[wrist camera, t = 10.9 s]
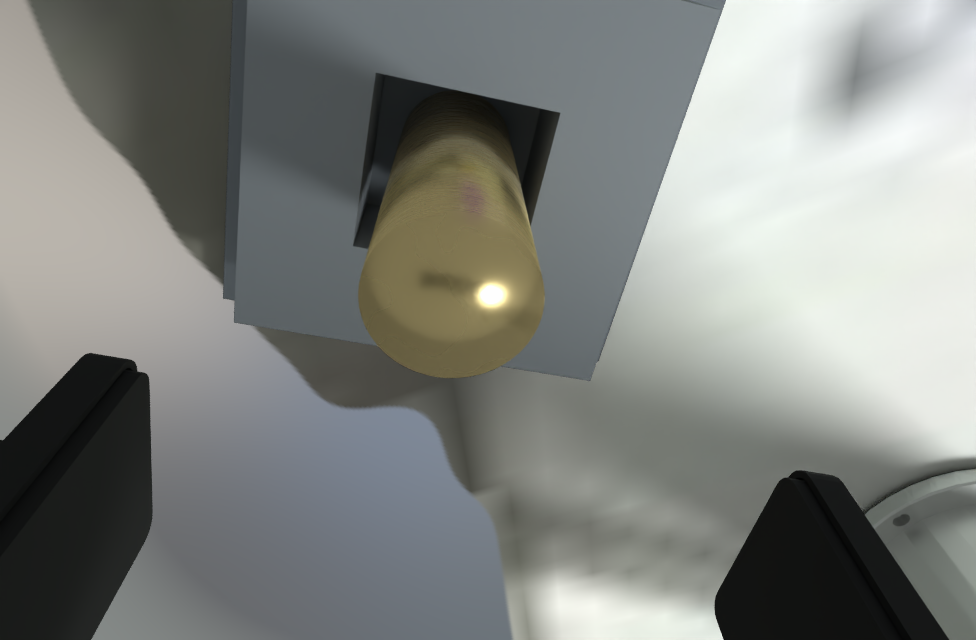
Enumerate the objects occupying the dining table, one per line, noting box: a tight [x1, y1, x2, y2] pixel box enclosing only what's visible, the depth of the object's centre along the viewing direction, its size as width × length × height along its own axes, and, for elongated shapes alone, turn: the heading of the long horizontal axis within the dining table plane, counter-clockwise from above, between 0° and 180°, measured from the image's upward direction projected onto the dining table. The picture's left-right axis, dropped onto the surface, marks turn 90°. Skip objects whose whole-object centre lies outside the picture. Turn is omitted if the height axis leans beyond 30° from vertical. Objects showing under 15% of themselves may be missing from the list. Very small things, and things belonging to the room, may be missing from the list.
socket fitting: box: [223, 0, 726, 381], centre depth 24 cm, size 16×16×5 cm
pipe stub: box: [358, 90, 545, 378], centre depth 20 cm, size 4×4×12 cm
